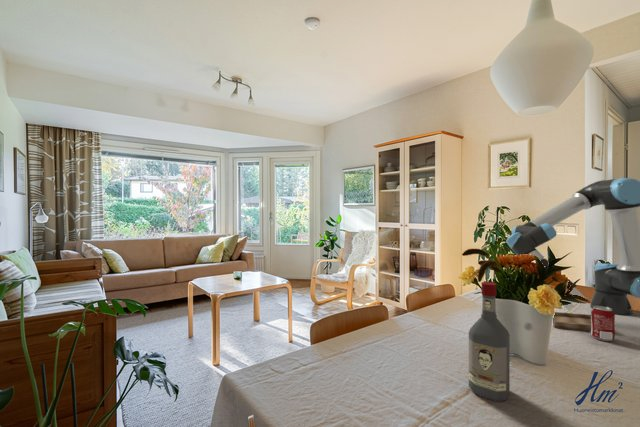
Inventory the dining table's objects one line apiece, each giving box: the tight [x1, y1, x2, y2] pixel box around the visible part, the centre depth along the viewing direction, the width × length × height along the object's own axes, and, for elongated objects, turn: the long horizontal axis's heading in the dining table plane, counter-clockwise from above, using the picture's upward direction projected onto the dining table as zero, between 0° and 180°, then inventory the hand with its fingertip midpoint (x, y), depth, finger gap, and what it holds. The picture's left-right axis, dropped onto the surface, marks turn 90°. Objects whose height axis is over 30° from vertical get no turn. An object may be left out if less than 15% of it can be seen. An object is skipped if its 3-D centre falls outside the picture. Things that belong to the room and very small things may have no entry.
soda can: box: [590, 306, 616, 342], centre depth 118 cm, size 7×7×12 cm
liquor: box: [468, 281, 511, 402], centre depth 84 cm, size 9×9×30 cm
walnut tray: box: [552, 311, 591, 332], centre depth 133 cm, size 20×15×2 cm
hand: (578, 305), depth 123 cm, fingers open, 13 cm apart
